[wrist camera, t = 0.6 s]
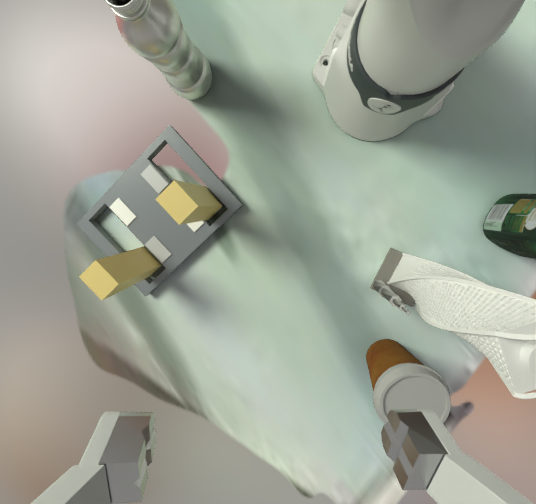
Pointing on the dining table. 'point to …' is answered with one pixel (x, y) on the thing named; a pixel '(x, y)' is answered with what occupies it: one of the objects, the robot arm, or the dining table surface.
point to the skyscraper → (467, 313)
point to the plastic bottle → (164, 43)
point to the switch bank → (157, 209)
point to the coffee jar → (513, 224)
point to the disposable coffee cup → (404, 381)
